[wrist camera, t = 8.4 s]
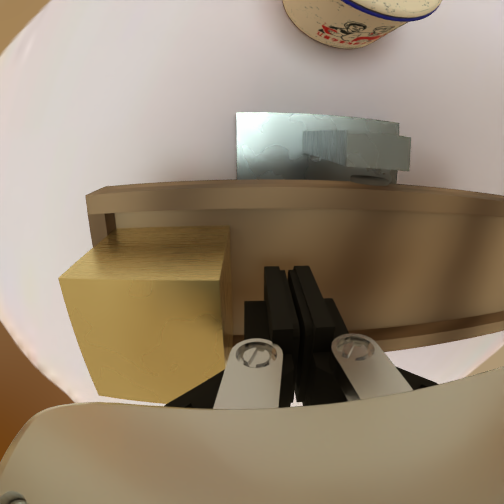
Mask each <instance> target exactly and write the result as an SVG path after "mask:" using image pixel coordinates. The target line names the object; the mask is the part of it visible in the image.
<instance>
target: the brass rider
mask: <svg viewBox="0 0 504 504" xmlns="http://www.w3.org/2000/svg"><path fill="white" fill-rule="evenodd" d="M58 279H59V283H60V286H61V290H62V294H63V297H64V301H65V304H66V308H67V311H68V314H69V317H70V321H71V324H72V327H73V330H74V333H75V336H76V339H77V342H78V344H79V347H80V350H81V353H82V355H83V358H84V361H85V363H86V366H87V368H88V371H89V373H90V376H91V378H92V381H93V383H94V385H95V388H96V390H97V392H98V394H99V395H100V396H106V397H113V398H120V399H127V400H135V401H143V402H153V403H163V404H167V403H169V402H171V401H172V400H174V399H176V398H178V397H179V396H181V395H183V394H184V393H186V392H188V391H190V390H191V389H193V388H195V387H196V386H198V385H200V384H201V383H203V382H205V381H206V380H208V379H210V378H211V377H213V376H215V375H216V374H218V373H219V372H221V371H223V370H224V369H225V368H226V365H227V361H228V358H229V355H230V352H231V350H232V342H233V306H232V280H231V252H230V226H179V227H144V228H116V229H115V230H114V231H113V232H111V233H110V234H109V235H108V236H106V237H105V238H104V239H103V240H102V241H100V242H99V243H98V244H97V245H96V246H94V247H93V248H92V249H91V250H90V251H89V252H87V253H86V254H85V255H84V256H83V257H82V258H80V259H79V260H78V261H77V262H76V263H75V264H74V265H72V266H71V267H70V268H69V269H68V270H67V271H66V272H65V273H63V274H62V275H61V276H60V277H59V278H58Z"/></svg>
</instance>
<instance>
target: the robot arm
mask: <svg viewBox="0 0 504 504" xmlns="http://www.w3.org/2000/svg"><path fill="white" fill-rule="evenodd" d="M294 391H295V395H296V401H297V402H302V403H303V406H297V407H290V404H291V403H293V399H294ZM0 504H504V367H500V368H497V369H493V370H490V371H486V372H483V373H479V374H476V375H473V376H469V377H465V378H462V379H458V380H455V381H451V382H447V383H443V384H437V383H435V382H433V381H430V380H428V379H425V378H423V377H420V376H418V375H415V374H413V373H410V372H408V371H405V370H403V369H400V368H398V367H395V366H394V364H393V363H392V362H391V360H390V359H389V358H388V357H387V355H386V354H385V353H384V352H383V350H382V349H381V348H380V346H379V345H378V344H377V343H376V342H375V341H374V340H373V339H371V338H369V337H367V336H365V335H361V334H354V333H351V334H349V332H348V330H347V327H346V325H345V323H344V321H343V319H342V317H341V315H340V312H339V310H338V308H337V306H336V304H335V302H334V300H333V299H332V298H323V296H322V294H321V292H320V289H319V287H318V285H317V283H316V280H315V278H314V276H313V273H312V271H311V269H310V267H309V265H307V266H294V267H293V270H288V280H287V276H286V272H285V270H280V268H279V266H264V301H244V341H242V342H239V343H237V344H236V345H235V346H234V347H233V348H232V350H231V352H230V355H229V358H228V361H227V365H226V368H225V369H224V370H223V371H221V372H219V373H218V374H216V375H215V376H213V377H211V378H210V379H208V380H206V381H205V382H203V383H201V384H200V385H198V386H196V387H195V388H193V389H191V390H190V391H188V392H186V393H184V394H183V395H181V396H179V397H178V398H176V399H174V400H172V401H171V402H169V403H167V404H166V405H165V406H148V405H135V404H123V403H105V402H88V403H73V404H66V405H59V406H56V407H51V408H48V409H45V410H43V411H41V412H39V413H37V414H35V415H34V416H33V417H32V418H31V419H30V420H29V421H28V422H27V423H26V424H25V425H24V426H23V428H22V429H21V430H20V431H19V433H18V434H17V436H16V437H15V438H14V440H13V441H12V443H11V445H10V446H9V448H8V450H7V451H6V453H5V455H4V457H3V458H2V460H1V463H0Z"/></svg>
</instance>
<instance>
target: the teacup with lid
mask: <svg viewBox="0 0 504 504" xmlns="http://www.w3.org/2000/svg"><path fill="white" fill-rule="evenodd" d="M441 1H442V0H283V4H284V7H285V10H286V12H287V14H288V16H289V17H290V19H291V20H292V21H293V23H294V24H295V25H296V26H297V27H298V28H299V29H300V30H301V31H303V32H304V33H305V34H307V35H308V36H309V37H311V38H313V39H315V40H317V41H319V42H321V43H323V44H326V45H329V46H333V47H337V48H347V49H348V48H359V47H363V46H366V45H369V44H371V43H373V42H374V41H376V40H378V39H379V38H381V37H383V36H384V35H386V34H388V33H390V32H391V31H393V30H395V29H397V28H398V27H400V26H402V25H404V24H406V23H407V22H410V21H416V20H420V19H423V18H426V17H428V16H429V15H431V14H432V13H433V12H434V11H435V10H436V9H437V8H438V7H439V5H440V3H441Z"/></svg>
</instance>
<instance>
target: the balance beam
mask: <svg viewBox="0 0 504 504" xmlns="http://www.w3.org/2000/svg"><path fill="white" fill-rule="evenodd" d="M85 196H86V204H87V212H88V219H89V226H90V232H91V238H92V244H93V247H94V246H96V245H97V244H98V243H99V242H100V241H102V240H103V239H104V238H105V237H106V236H108V235H109V234H110V233H111V232H113V231H114V230H115V229H116V228H144V227H179V226H230V252H231V280H232V306H233V342H232V348H233V347H234V346H235V345H236V344H237V343H239V342H242V341H244V301H264V266H279V268H280V270H285V272H286V276H287V280H288V270H293V267H294V266H307V265H309V267H310V269H311V271H312V273H313V276H314V278H315V280H316V283H317V285H318V287H319V289H320V292H321V294H322V296H323V298H332V299H333V300H334V302H335V304H336V306H337V308H338V310H339V312H340V315H341V317H342V319H343V321H344V323H345V325H346V327H347V330H348V332H349V334H351V333H354V334H361V335H365V336H367V337H369V338H371V339H373V340H374V341H375V342H376V343H377V344H378V345H379V346H380V348H381V349H382V350H383V352H388V351H396V350H403V349H410V348H417V347H424V346H430V345H436V344H441V343H447V342H452V341H458V340H463V339H468V338H472V337H477V336H482V335H486V334H491V333H495V332H499V331H503V330H504V196H502V195H495V194H488V193H480V192H472V191H464V190H455V189H446V188H436V187H426V186H415V185H402V184H389V180H388V179H385V178H381V177H375V176H367V175H351V176H350V181H330V180H283V179H250V180H203V181H179V182H160V183H144V184H130V185H118V186H106V187H103V188H101V189H99V190H96V191H94V192H92V193H90V194H88V195H85Z"/></svg>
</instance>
